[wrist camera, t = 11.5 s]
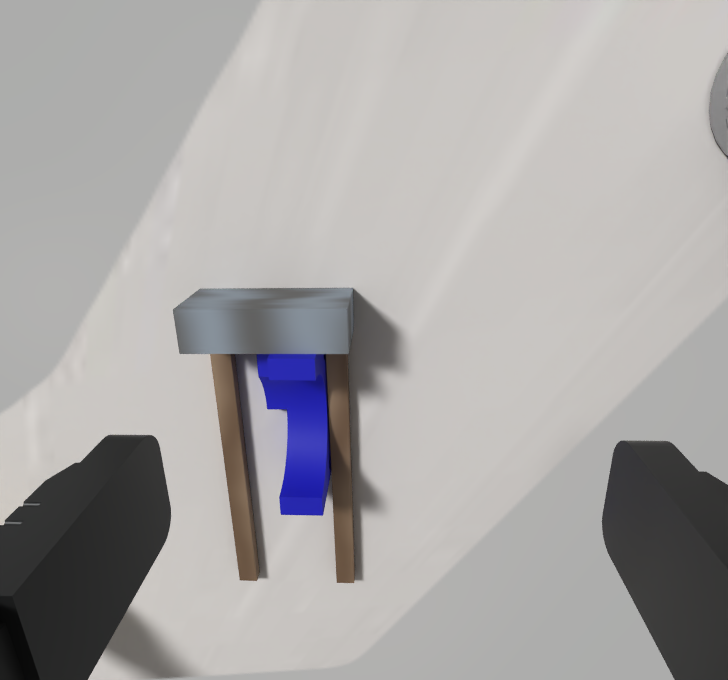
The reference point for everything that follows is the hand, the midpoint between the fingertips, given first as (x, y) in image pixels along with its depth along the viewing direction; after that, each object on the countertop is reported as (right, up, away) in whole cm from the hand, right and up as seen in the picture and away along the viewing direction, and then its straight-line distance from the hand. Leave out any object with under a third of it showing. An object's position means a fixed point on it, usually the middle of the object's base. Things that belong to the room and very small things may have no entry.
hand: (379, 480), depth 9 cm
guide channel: (-6, -6, +33) cm, 34 cm away
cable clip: (-5, -2, +32) cm, 32 cm away
